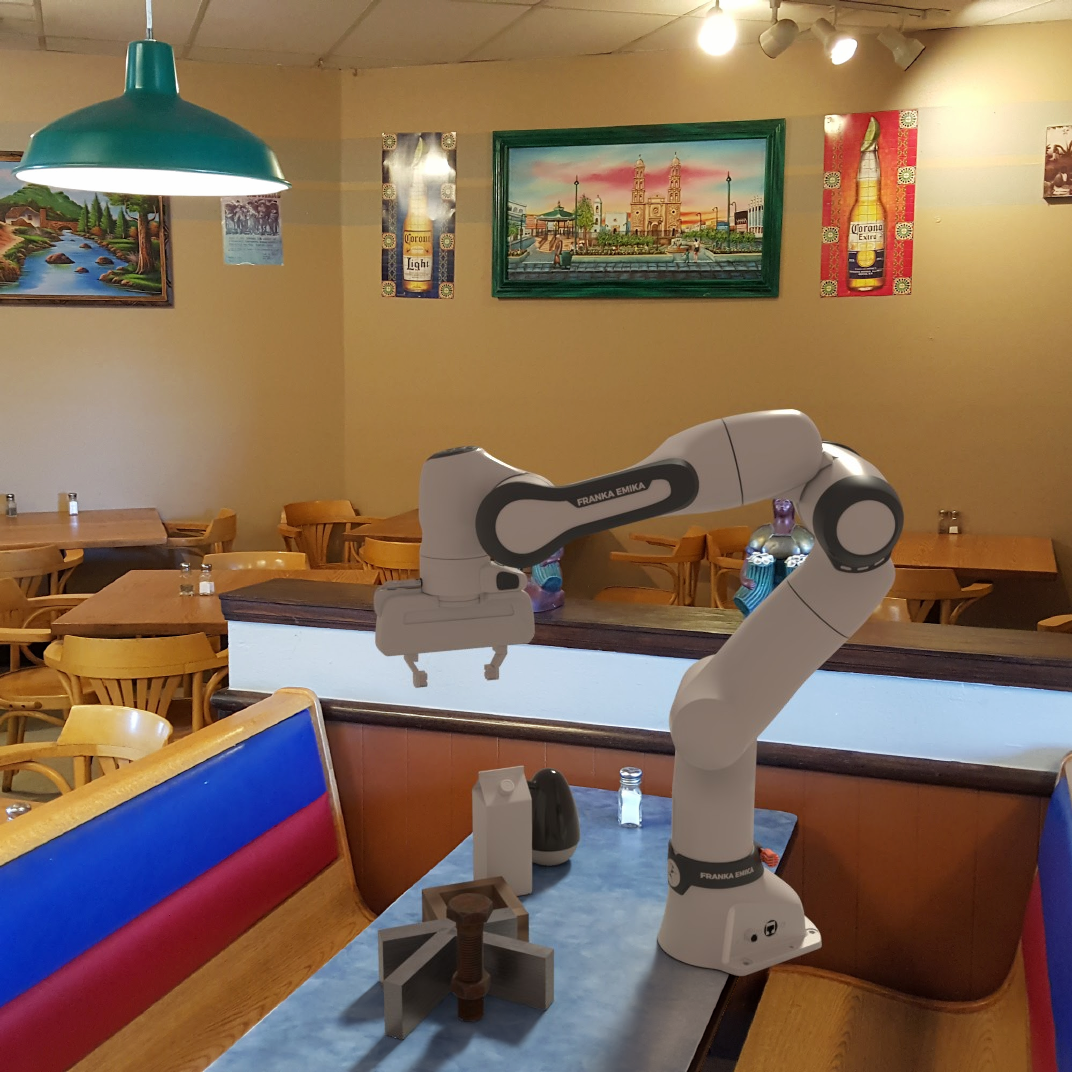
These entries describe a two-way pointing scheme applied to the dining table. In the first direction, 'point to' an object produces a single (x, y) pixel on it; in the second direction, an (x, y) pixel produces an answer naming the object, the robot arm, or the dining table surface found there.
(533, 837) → the black egg shape
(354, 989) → the dining table surface
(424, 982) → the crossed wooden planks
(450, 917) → the bolt
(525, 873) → the milk carton
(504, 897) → the bore block
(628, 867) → the dining table surface
